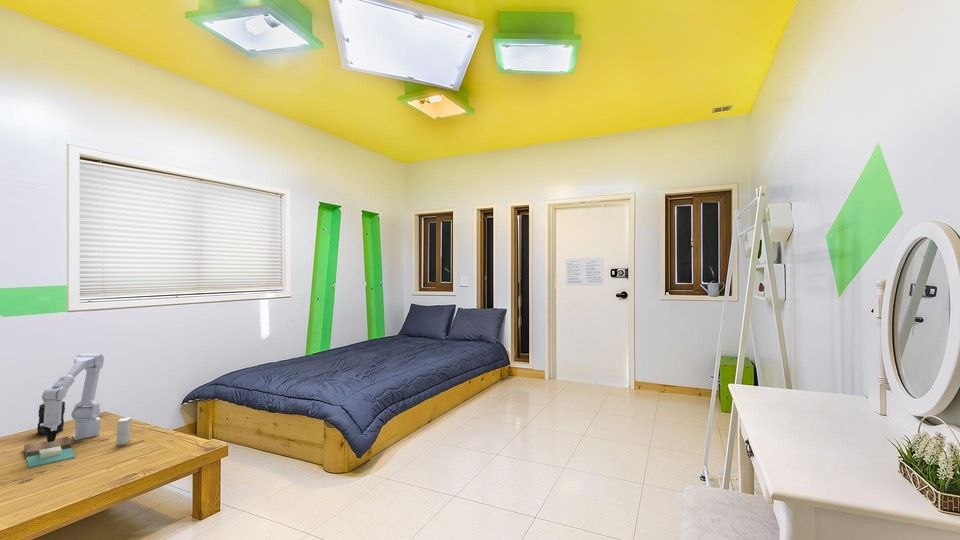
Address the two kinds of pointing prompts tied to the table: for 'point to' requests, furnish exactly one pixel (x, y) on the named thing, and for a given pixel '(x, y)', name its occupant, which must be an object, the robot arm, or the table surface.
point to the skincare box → (123, 431)
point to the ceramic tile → (50, 452)
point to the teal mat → (50, 458)
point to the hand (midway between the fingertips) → (50, 441)
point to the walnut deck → (46, 446)
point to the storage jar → (41, 419)
